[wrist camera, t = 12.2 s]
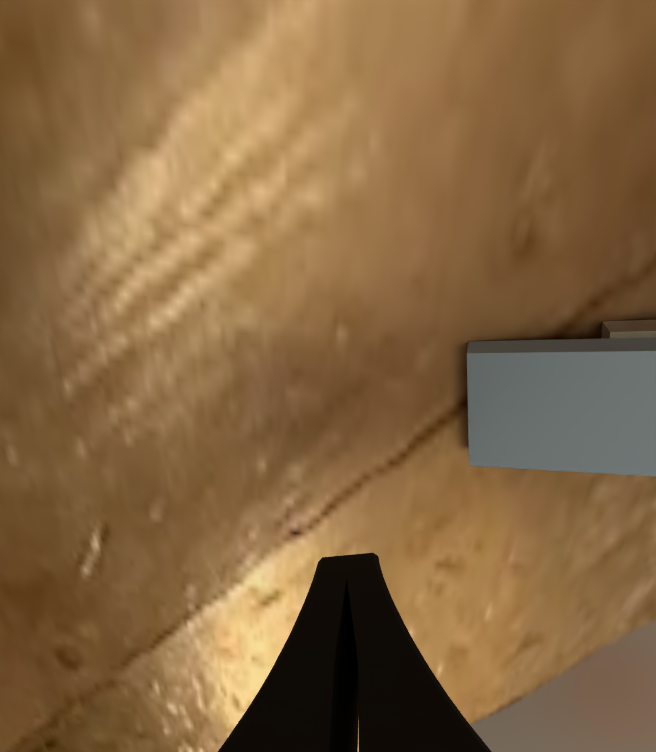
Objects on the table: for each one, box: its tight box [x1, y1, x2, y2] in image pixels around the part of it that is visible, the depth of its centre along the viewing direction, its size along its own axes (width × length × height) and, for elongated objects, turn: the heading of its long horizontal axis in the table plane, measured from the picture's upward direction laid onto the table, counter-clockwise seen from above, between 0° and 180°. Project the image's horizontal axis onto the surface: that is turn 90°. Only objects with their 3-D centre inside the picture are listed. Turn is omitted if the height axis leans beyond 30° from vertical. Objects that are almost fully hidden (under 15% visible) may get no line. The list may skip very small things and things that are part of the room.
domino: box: [467, 338, 656, 476], centre depth 19 cm, size 2×5×8 cm
